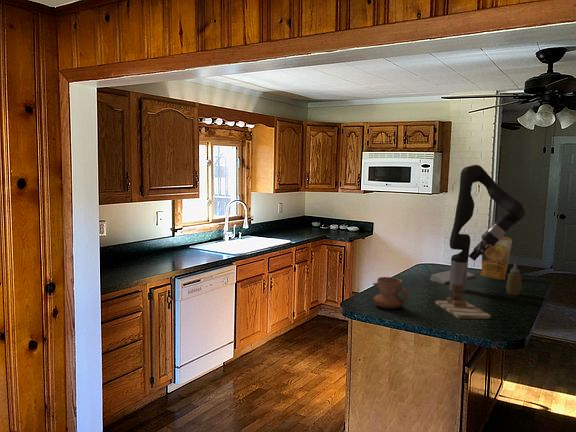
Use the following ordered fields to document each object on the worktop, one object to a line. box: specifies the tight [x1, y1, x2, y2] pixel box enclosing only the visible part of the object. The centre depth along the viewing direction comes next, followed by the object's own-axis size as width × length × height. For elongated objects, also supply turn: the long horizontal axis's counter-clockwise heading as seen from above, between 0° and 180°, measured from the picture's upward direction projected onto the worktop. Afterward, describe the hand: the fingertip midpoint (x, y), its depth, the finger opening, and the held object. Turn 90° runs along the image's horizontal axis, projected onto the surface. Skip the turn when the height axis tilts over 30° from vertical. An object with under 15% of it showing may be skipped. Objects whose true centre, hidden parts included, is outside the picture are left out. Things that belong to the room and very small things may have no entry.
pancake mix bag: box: [480, 236, 513, 281], centre depth 324 cm, size 7×19×28 cm, turn 47°
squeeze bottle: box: [505, 262, 522, 296], centre depth 281 cm, size 8×8×18 cm
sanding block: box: [445, 284, 467, 307], centre depth 251 cm, size 9×6×10 cm, turn 8°
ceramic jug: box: [372, 276, 409, 310], centre depth 246 cm, size 18×14×14 cm
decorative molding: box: [429, 270, 475, 285], centre depth 316 cm, size 34×5×10 cm
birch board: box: [434, 299, 492, 320], centre depth 246 cm, size 26×16×2 cm, turn 8°
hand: (471, 258), depth 251 cm, fingers open, 8 cm apart
